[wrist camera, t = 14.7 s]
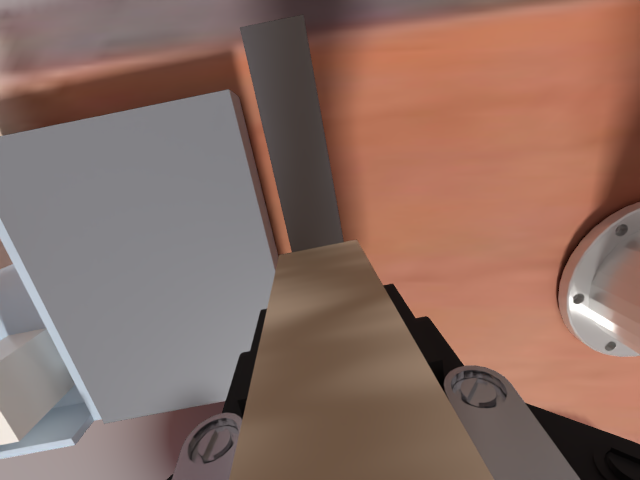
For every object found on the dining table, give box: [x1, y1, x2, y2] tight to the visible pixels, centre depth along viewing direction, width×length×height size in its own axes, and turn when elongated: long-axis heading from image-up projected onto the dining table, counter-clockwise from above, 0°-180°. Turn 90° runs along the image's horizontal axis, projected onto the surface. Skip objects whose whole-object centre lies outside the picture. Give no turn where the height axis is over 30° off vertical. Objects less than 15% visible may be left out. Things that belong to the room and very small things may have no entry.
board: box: [0, 89, 278, 424], centre depth 21 cm, size 15×20×2 cm
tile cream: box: [0, 328, 75, 445], centre depth 21 cm, size 5×5×3 cm
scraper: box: [229, 15, 494, 480], centre depth 9 cm, size 3×20×11 cm, turn 11°
